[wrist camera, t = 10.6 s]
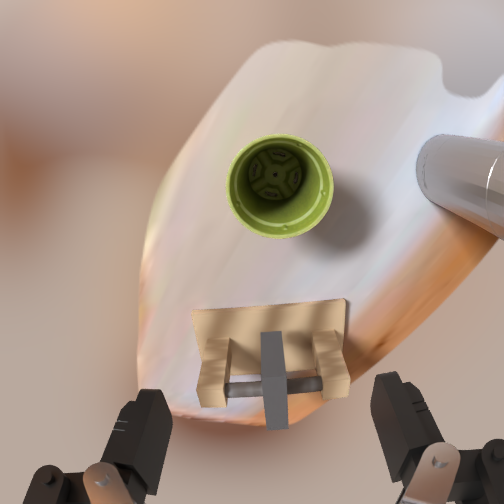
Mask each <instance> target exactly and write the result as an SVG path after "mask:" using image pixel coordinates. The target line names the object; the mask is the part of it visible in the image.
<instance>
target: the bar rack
mask: <svg viewBox="0 0 504 504" xmlns="http://www.w3.org/2000/svg"><path fill="white" fill-rule="evenodd" d="M345 307H346V302H345V300H344V298H343V299H333V300H324V301H314V302H303V303H292V304H280V305H268V306H254V307H240V308H225V309H207V310H192V313H191V316H192V321H193V325H194V330H195V334H196V339H197V343H198V347H199V352H200V356H201V360H202V365H201V370H200V375H199V379H198V384H197V389H196V391H197V395H198V398H199V401H200V405H201V407H227V400H228V398H236V397H258V396H263V390H262V381H256V382H235V383H229V380H230V375H249V374H261V336H260V332H271V331H282V340H283V349H284V358H285V367H286V372H291V371H301V370H311V369H316V371H317V376H315V377H305V378H295V379H287V394H297V393H307V392H316V391H321V394H322V399H323V400H329V399H336V398H343V397H348V394H349V387H350V376H349V373H348V370H347V367H346V364H345V361H344V358H343V355H342V350H343V338H344V324H345Z"/></svg>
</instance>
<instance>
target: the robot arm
mask: <svg viewBox="0 0 504 504" xmlns="http://www.w3.org/2000/svg"><path fill="white" fill-rule="evenodd" d="M416 172H417V180H418V183H419V186H420V188H421V190H422V192H423V193H424V195H425V196H426V197H427V198H428V199H429V200H430V201H432V202H434V203H436V204H438V205H440V206H442V207H443V208H445V209H447V210H449V211H451V212H453V213H455V214H457V215H459V216H461V217H463V218H464V219H466V220H468V221H470V222H472V223H474V224H476V225H477V226H479V227H481V228H483V229H485V230H486V231H488V232H490V233H492V234H494V235H495V236H497V237H499V238H500V239H502V240H504V142H501V141H495V140H488V139H480V138H473V137H464V136H455V135H444V134H442V135H437V136H435V137H433V138H431V139H430V140H429V141H427V142H426V143H425V145H424V146H423V147H422V149H421V151H420V153H419V156H418V160H417V167H416ZM370 407H371V415H372V418H373V421H374V424H375V427H376V430H377V433H378V436H379V440H380V443H381V446H382V449H383V453H384V456H385V459H386V462H387V466H388V469H389V472H390V476H391V479H392V482H393V483H394V482H398V481H401V480H402V483H403V486H404V488H403V489H402V491H401V493H400V495H399V497H398V499H397V501H396V503H395V504H446V502H451V501H455V503H456V504H504V440H503V439H494V440H491V441H489V442H488V443H486V445H485V446H484V447H483V449H476V450H457V448H456V447H455V446H453V445H451V444H449V443H445V441H444V439H443V437H442V435H441V433H440V431H439V429H438V427H437V425H436V423H435V421H434V419H433V416H432V414H431V412H430V410H428V407H427V404H426V402H424V398H423V396H422V394H421V392H420V390H419V389H418V388H417V387H415V386H414V385H413V384H412V383H411V382H406V383H402V381H401V379H400V377H399V375H398V373H397V372H396V371H394V372H389V373H383V374H378V375H376V377H375V382H374V387H373V392H372V397H371V405H370ZM172 423H173V422H172V415H171V412H170V410H169V407H168V405H167V402H166V400H165V397H164V395H163V393H162V391H161V390H160V389H141V390H140V391H139V394H138V396H137V399H136V401H129V402H128V403H127V404H126V405H125V406H124V407H123V408H122V409H121V411H120V413H119V416H118V419H117V422H116V423H115V426H114V430H112V433H111V435H110V438H109V441H108V443H107V446H106V448H105V451H104V453H103V456H102V458H101V460H100V462H98V463H95V464H93V465H91V466H90V467H88V468H87V470H86V471H85V472H80V473H63V472H62V471H61V470H60V469H59V468H58V467H56V466H53V465H46V466H43V467H41V468H39V469H38V470H37V471H36V472H35V474H34V476H33V479H32V481H31V484H30V486H29V489H28V491H27V494H26V496H25V499H24V501H23V504H145V502H144V501H145V497H146V494H148V495H156V494H157V489H158V484H159V481H160V476H161V472H162V468H163V464H164V460H165V455H166V451H167V447H168V443H169V439H170V435H171V431H172V425H173V424H172Z"/></svg>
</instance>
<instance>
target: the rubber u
mask: <svg viewBox="0 0 504 504" xmlns="http://www.w3.org/2000/svg"><path fill="white" fill-rule="evenodd" d="M260 336H261V381H262V390H263V399H264V408H265V417H266V426H267V430H280V429H288V402H287V378H286V367H285V358H284V349H283V340H282V331H271V332H260Z"/></svg>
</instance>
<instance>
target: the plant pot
mask: <svg viewBox="0 0 504 504" xmlns="http://www.w3.org/2000/svg"><path fill="white" fill-rule="evenodd" d="M274 152H281V153H284V154H285V157H283V156H280V155H276V154H273V153H274ZM256 164H257V168H256V172H255V176H253V175H252V174H253V167H254V165H256ZM274 172H277V174H278V175H277V177H274V176H273V173H274ZM295 172H297V173H298V178H297V182H296V183H295V184H294V183H293V182H294V179H295ZM266 191H267V192H270V193H276V194H277V196H269V195H267V194H266V193H265V192H266ZM333 192H334V182H333V175H332V172H331V169H330V166H329V164H328V162H327V160H326V159H325V157H324V156H323V154H322V153H321V152H320V151H319V150H318V148H316V147H315V146H314V145H313V144H311V143H310V142H308V141H306V140H304V139H302V138H300V137H297V136H294V135H289V134H272V135H267V136H263V137H260V138H258V139H256V140H254V141H252V142H250V143H249V144H247V145H246V146H245V147H244V148H242V149H241V150H240V152H239V153H238V154H237V155H236V156H235V158H234V159H233V161H232V163H231V165H230V167H229V170H228V173H227V178H226V196H227V200H228V204H229V206H230V208H231V210H232V212H233V214H234V215H235V217H236V218H237V220H238V221H239V222H240V223H241V224H242V225H243V226H244V227H246V228H247V229H248V230H250V231H252V232H253V233H255V234H258V235H260V236H263V237H267V238H274V239H285V238H291V237H295V236H298V235H301V234H303V233H305V232H307V231H309V230H311V229H312V228H313V227H314V226H316V225H317V224H318V223H319V222H320V221H321V220H322V218H323V217H324V216H325V214H326V213H327V211H328V209H329V207H330V205H331V201H332V197H333Z"/></svg>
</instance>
